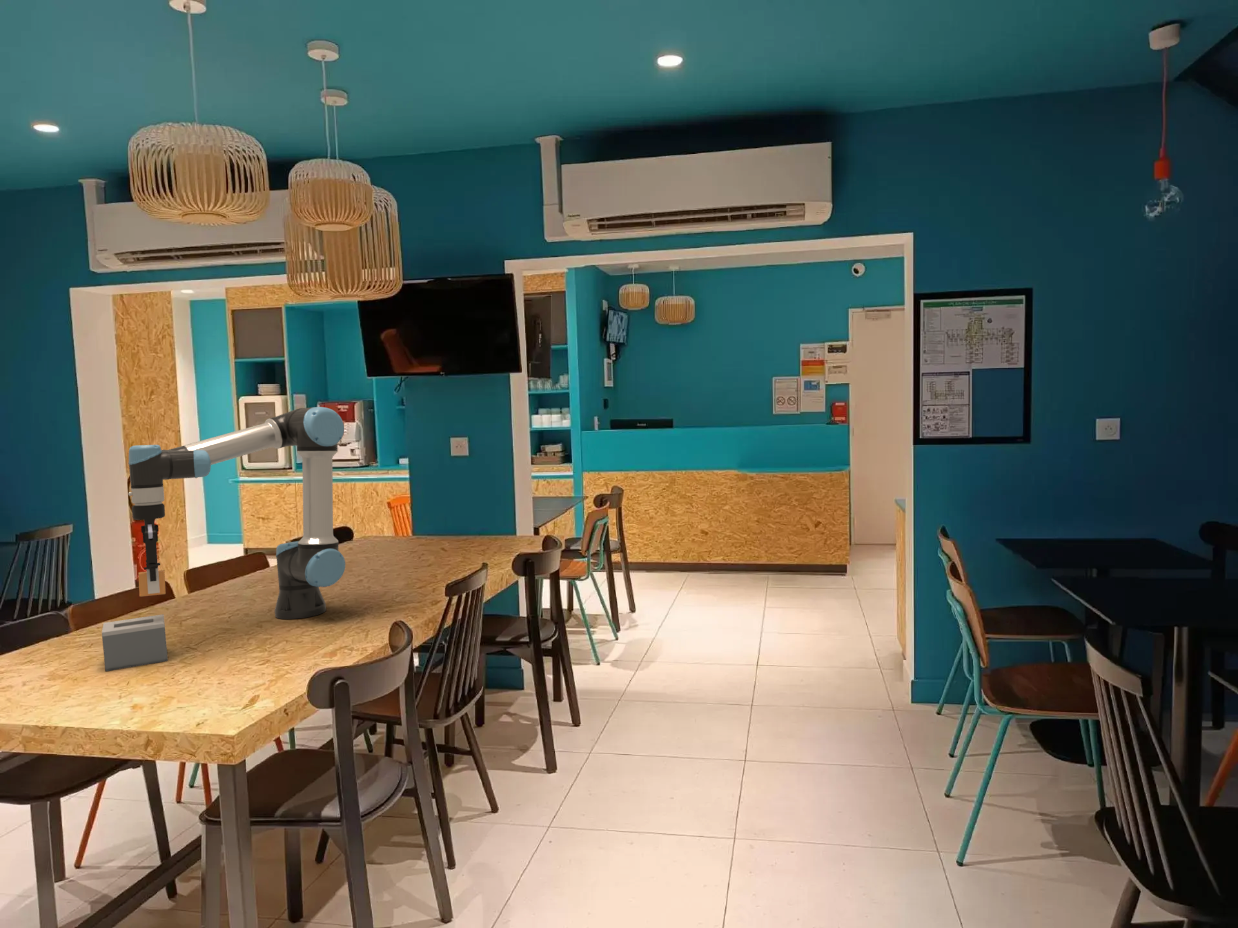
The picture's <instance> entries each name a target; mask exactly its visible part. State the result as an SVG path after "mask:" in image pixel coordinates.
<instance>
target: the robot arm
mask: <svg viewBox="0 0 1238 928" xmlns="http://www.w3.org/2000/svg"><path fill="white" fill-rule="evenodd" d="M344 434H345V425H344V422H343V419H342V417H341V416H340V414H338V413H337V412H336V411H335V410H333V409H331V408H328V407H323V406H316V407H315V406H314V407H313V406H312V407H300V408H296V409H293V410H290V411H287V412H285V413H283V414H279V415H276V416H273V417H270V418H267V419H266V420H265V421H264V423H261V424H257V425H254V426H251V427H245V428H243V429H238V430H234V431H231V432H228V433H224V434H221V435H217V436H212V437H209V438H207V439H202V440H198V441H195V442H192V443H188V444H184V445H181V446H177V447H173V448H170V449H169V448H168V449H162V448H161V445H159V444H147V445H146V444H141V445H139V444H138V445H132V446H130V447H129V449H128V468H129V481H130V491H129V492H128V496H129V497H131V503H132V504H133V505H132V506H131V513H132V519H133V520H136V521H142V520H144V521H143V522H144V525H141V526H140V530H141V534H142V542H143V543H144V544H145V557H146V560H145V567H143V570H146V572H147V584H148V594H153V593H160V587H159V572H158V571H159V566H161V562H158V551H157V550H158V549H157V547H158V546H157V543H158V542H159V537H158V536H159V535H158V533H159V524H155V520H157V519H158V520H159V519H163V518H164V517H166V510H165V509H166V508H165V504H164V503H163V502H164V501H165V489H164V488H165V487H164V481H165V480H179V479H192V478H193V479H197V478H205V477H207V476H208V475H209V474H210V472H211V469H212V468H211V467H212V465H216V464H218V463H219V464H220V463H223V462H225V461H229V460H233V459H236V458H240V457H243V456H246V455H250V454H253V453H256V452H260V451H264V450H266V449H270V448H274V449H275V450H276V449H277V450H278V449H281V448H286V447H293V446H294V447H295V446H296V452H297V454H298V455H300V457H301V459H302V463H301V464H302V537H301V539H300V540H297V541H292V542H291V541H290V542H284V543H280V544H278V545H277V547H275V548H276V552H275V553H276V554H275V557H276V566H277V578H278V591H279V593H278V595H277V600H276V603H275V608H274V617H275V618H276V619H282V620H296V619H297V620H298V619H303V618H304V619H305V618H311V617H315V616H319V615H321V614H323V613H325V612H326V611H327V605H326V601H325V599H324V597H323V595H322V593H321V590H320V587H321V588H326V587H330V586H332V585H335V584H336V583H337V582H339V580H340V579H341V578H342V576H343V575H344V573H345V570H346V560H345V557H344V556H343V554H342V552H340V549H339V540H338V539H337V537H336V536H334V508H333V507H334V501H333V500H334V497H333V496H334V495H333V494H334V492H333V491H334V489H333V487H334V484H333V483H334V482H333V457H334V456H335V455H336V454H337V453H338V443H339V442H340V441H341V440H342V439H343V437H344Z"/></svg>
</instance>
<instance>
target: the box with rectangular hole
mask: <svg viewBox="0 0 1238 928" xmlns="http://www.w3.org/2000/svg"><path fill="white" fill-rule="evenodd" d="M165 624H166V623H165V615H164V614H156V615H149V616H143V617H142V616H141V617H136V618H130V619H129V618H128V619H123V620H122V619H121V620H115V621H107V622H103V624H102V625H103V626H102V630H101V637H102V639H101V640H102V649H103V659H104V660H103V661H104V670H105V672H110V671H111V672H112V671H117V670H122V669H128V668H134V667H140V666H145V665H146V666H147V665H152V664H153V665H154V664H158V663H165V662H168V661H169V659H168V647H167V637H166V625H165Z"/></svg>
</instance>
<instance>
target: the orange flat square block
mask: <svg viewBox="0 0 1238 928" xmlns="http://www.w3.org/2000/svg"><path fill="white" fill-rule="evenodd" d="M158 572H159V587H160V593H153V594H148V584H147V571H140V572H138V588H139V589H138V590H139V591H138V592H139V597H148V596H150V597H151V596H157V595H158V596H160V595H166V575H165V574H166V573H165V572H166V571H165V570H164V569H162V570H161V569H160V570H158Z"/></svg>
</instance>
